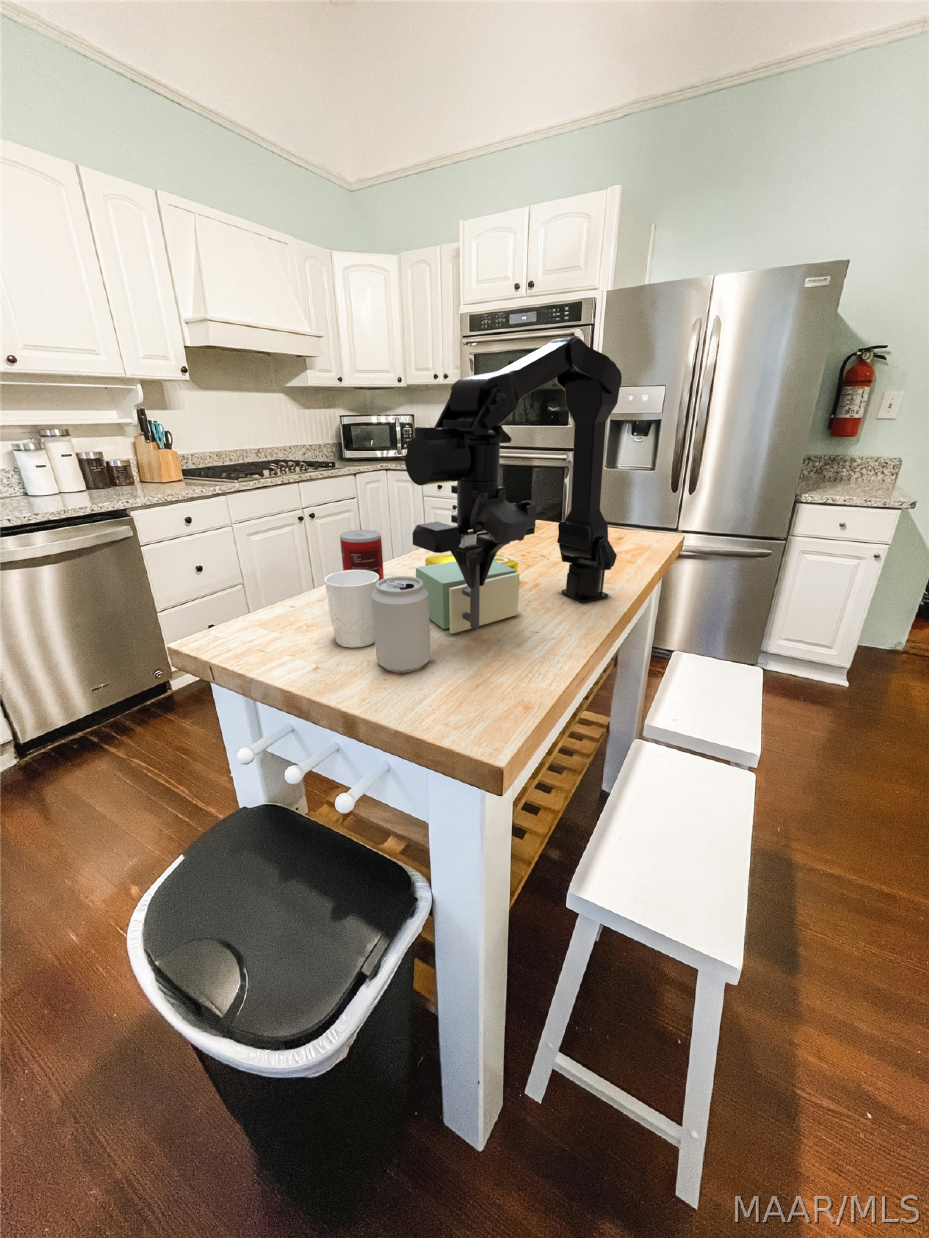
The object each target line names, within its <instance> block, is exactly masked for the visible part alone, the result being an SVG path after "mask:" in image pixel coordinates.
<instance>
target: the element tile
mask: <svg viewBox="0 0 929 1238" xmlns="http://www.w3.org/2000/svg"><path fill="white" fill-rule="evenodd" d="M453 561H456V560H455V558H454V556H453V555H452V553H451V552H446V553H441V554H437V555H430V556H427V557H426V558H425V559H424V566H428V565H434V564H440V563H446V562H453ZM494 561H497V562H499V563H501V564H503V565H506V566H508V567H510V568H513V569H515V570H516V573H519V562H518V561H517V560H514V559H512V558H508V557H505V556H503V555H500V554H496V556H495V558H494Z"/></svg>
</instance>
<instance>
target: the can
mask: <svg viewBox="0 0 929 1238" xmlns="http://www.w3.org/2000/svg"><path fill="white" fill-rule="evenodd" d="M376 588H377V589H376V590H375V591H374V592H373V594H372V606H373V619H374V632H375V642H374V643H375V656H376V661H377V664H378V665H380V666H381V667H382V668H384V669H385V670H387V671H389V672H392V673H397V674H400V673H401V674H406V673H412V672H415V671H418V670H420V669H421V668H423V667H424V666H425V665H426V664H427V663H428V662H429V661H430V660H431V636H430V635H431V633H430V632H431V631H430V619H429V597H428V592H427V590H426V589H425V588H424V587H423V582H422V580H420V579H418V578H416V576H408V575H397V576H389V577H384V579H382V580H380V581H378V582H377V583H376Z"/></svg>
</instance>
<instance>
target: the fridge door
mask: <svg viewBox="0 0 929 1238" xmlns="http://www.w3.org/2000/svg"><path fill="white" fill-rule="evenodd" d="M519 590H520V572H518V573H512V574H508V575H504V576H500V577H495V578H491V579H487V580H485V583H484V585H483V586H480V564H479V563H476V581H475V587H474V588H473V589H471V588H469V587H468V586H467V584H465V585H461V586H457V587H452V588H449V618H450V628H449V633H450V634H457V633H460V632H463V631H466V630H470V629H478V628H479V627H481V626H483V625H487V624H491V623H495V622H498V621H500V620H501V621H502V620H504V619H507V618H512V617H515V616H518V615H519V593H520V591H519Z"/></svg>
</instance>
